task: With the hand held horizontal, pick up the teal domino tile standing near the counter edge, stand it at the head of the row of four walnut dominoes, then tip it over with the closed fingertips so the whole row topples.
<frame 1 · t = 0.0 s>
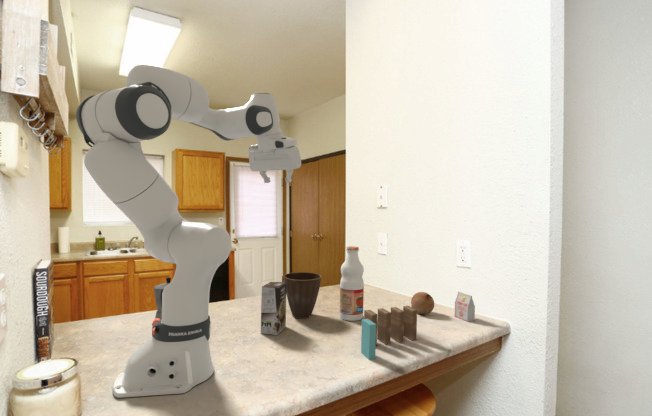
hand: (278, 182, 118), 52 cm above the counter, tool tilted 20°, fingers open, 8 cm apart
domino 4: (396, 339, 111), on the counter
tea bag: (464, 319, 134), on the counter
onion: (422, 313, 140), on the counter
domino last: (409, 337, 113), on the counter
coffee box: (273, 330, 118), on the counter
coffeepot: (166, 330, 115), on the counter
domino 3: (383, 341, 109), on the counter
plant pot: (301, 316, 134), on the counter
fruit juice: (351, 317, 133), on the counter
teal domino tile: (368, 355, 98), on the counter
domino 2: (370, 343, 107), on the counter
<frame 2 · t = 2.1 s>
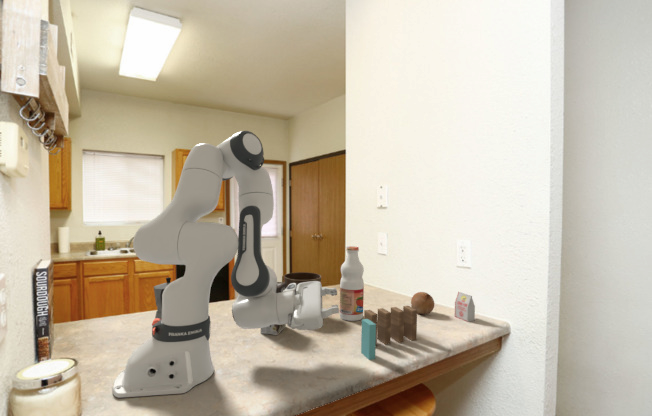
hand: (337, 299, 95), 17 cm above the counter, tool horizontal, fingers open, 8 cm apart
nothing on the counter moved.
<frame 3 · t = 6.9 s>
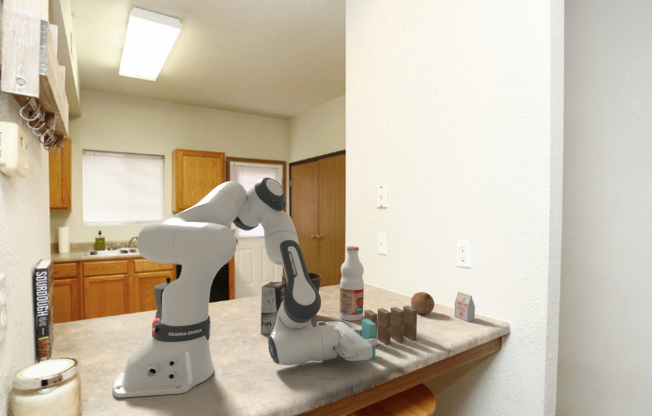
hand: (371, 336, 99), 6 cm above the counter, tool horizontal, fingers closed on teal domino tile, 5 cm apart
teal domino tile: (368, 355, 98), on the counter, touching gripper
everything else where it was.
when the fingers open (6 cm above the counter, at t = 11.9 s): teal domino tile stays where it is, on the counter.
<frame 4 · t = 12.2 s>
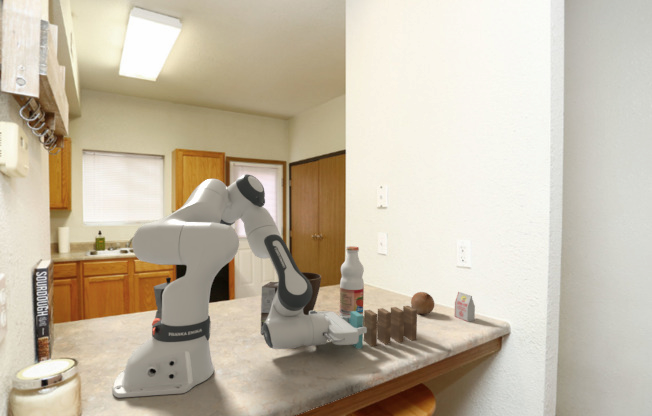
hand: (359, 324, 106), 6 cm above the counter, tool horizontal, fingers open, 8 cm apart
teal domino tile: (356, 345, 106), on the counter
everything else where it was.
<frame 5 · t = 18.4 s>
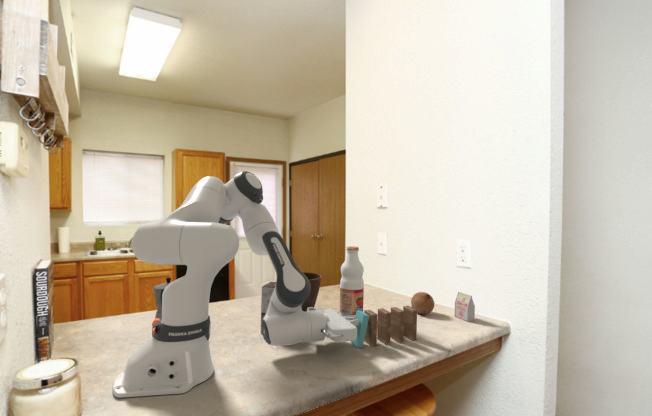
hand: (357, 320, 106), 8 cm above the counter, tool horizontal, fingers closed
teal domino tile: (356, 344, 106), on the counter, tilted 12°
everything else where it was.
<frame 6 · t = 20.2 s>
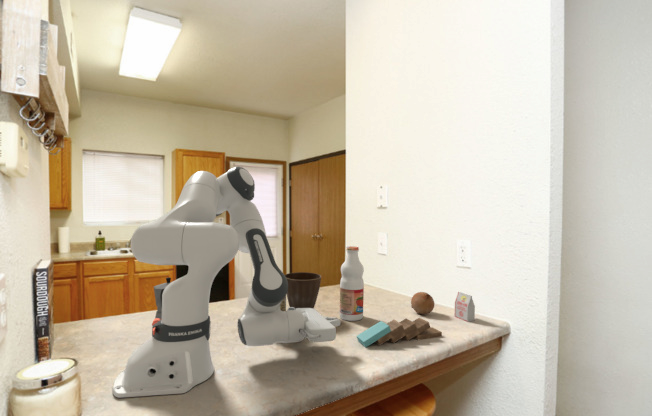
hand: (338, 321, 103), 8 cm above the counter, tool horizontal, fingers closed
domino 4: (402, 335, 112), point 1 cm above the counter, tilted 71°, touching domino 3
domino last: (413, 335, 113), on the counter, tilted 90°
domino 3: (387, 337, 110), point 1 cm above the counter, tilted 68°, touching domino 2, domino 4
teal domino tile: (360, 341, 106), point 1 cm above the counter, tilted 66°, touching domino 2
domino 2: (374, 339, 108), point 1 cm above the counter, tilted 67°, touching domino 3, teal domino tile
everything else where it was.
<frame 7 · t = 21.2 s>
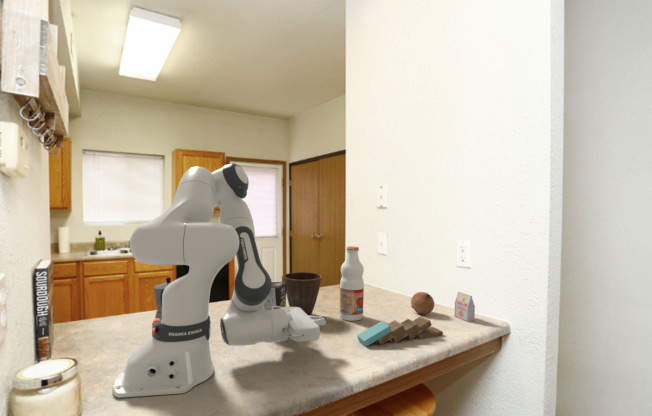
hand: (323, 320, 102), 9 cm above the counter, tool horizontal, fingers closed
domino 4: (404, 334, 113), point 1 cm above the counter, tilted 70°, touching domino 3
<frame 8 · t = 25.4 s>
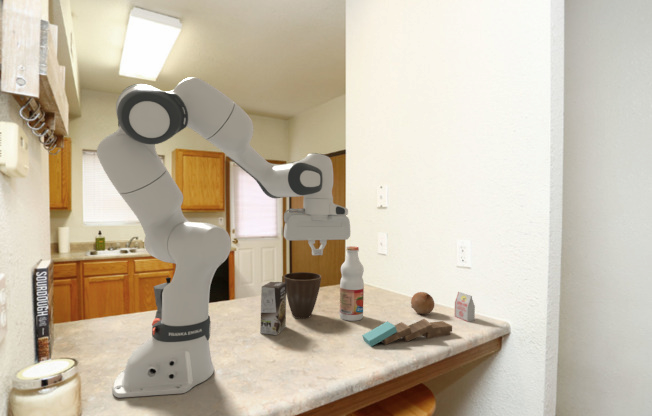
hand: (317, 255, 100), 29 cm above the counter, tool pointing down, fingers closed
domino 4: (423, 329, 115), point 2 cm above the counter, tilted 90°, touching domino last
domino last: (422, 335, 115), on the counter, tilted 90°, touching domino 4
domino 3: (402, 335, 111), point 1 cm above the counter, tilted 69°, touching domino 2
teal domino tile: (366, 340, 107), point 1 cm above the counter, tilted 68°
domino 2: (381, 339, 109), point 1 cm above the counter, tilted 74°, touching domino 3
everything else where it was.
at the end: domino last tilted 90°; teal domino tile tilted 68°; teal domino tile 5.3 cm from the domino 2 (horizontally) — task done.
